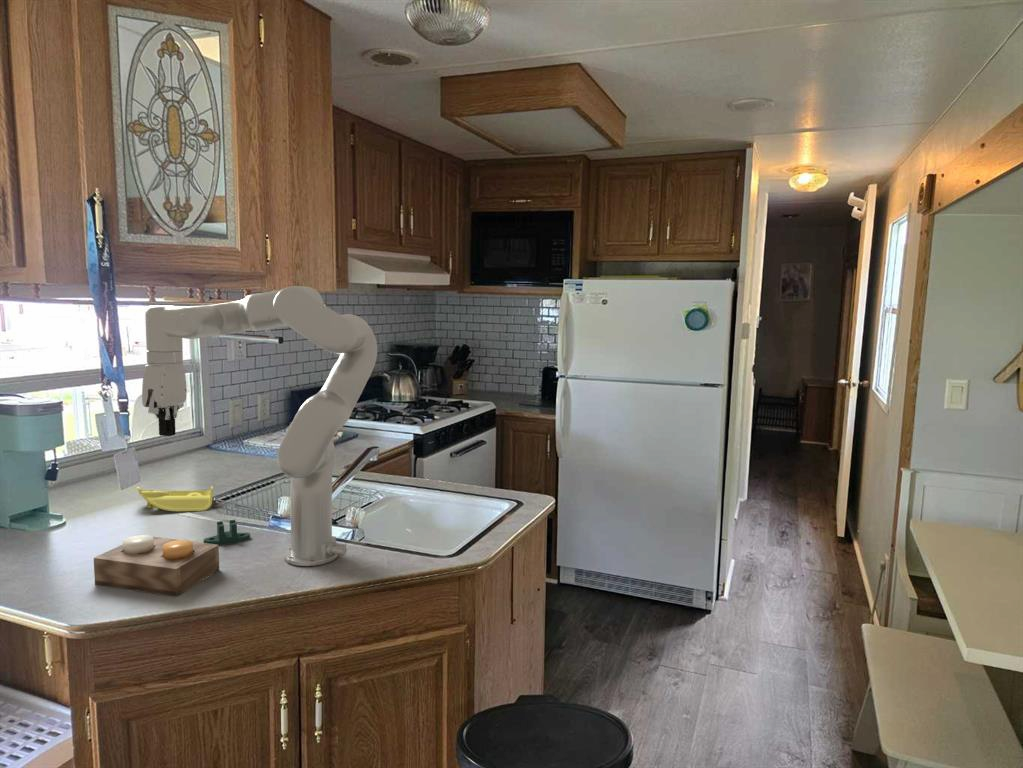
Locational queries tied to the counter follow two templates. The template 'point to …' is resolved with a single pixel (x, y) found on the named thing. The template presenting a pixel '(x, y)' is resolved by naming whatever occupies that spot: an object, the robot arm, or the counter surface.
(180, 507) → the plastic component
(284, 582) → the counter surface
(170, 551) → the orange button
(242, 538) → the mount
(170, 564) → the wooden peg board
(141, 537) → the cream button
